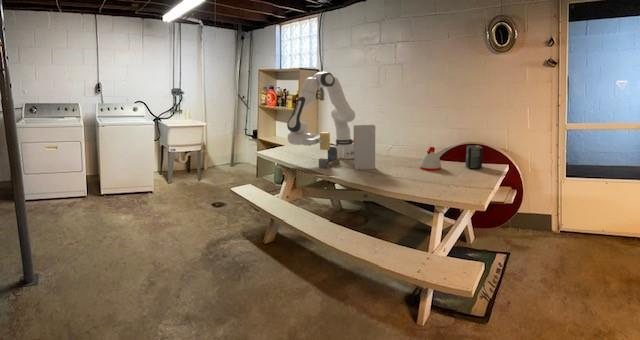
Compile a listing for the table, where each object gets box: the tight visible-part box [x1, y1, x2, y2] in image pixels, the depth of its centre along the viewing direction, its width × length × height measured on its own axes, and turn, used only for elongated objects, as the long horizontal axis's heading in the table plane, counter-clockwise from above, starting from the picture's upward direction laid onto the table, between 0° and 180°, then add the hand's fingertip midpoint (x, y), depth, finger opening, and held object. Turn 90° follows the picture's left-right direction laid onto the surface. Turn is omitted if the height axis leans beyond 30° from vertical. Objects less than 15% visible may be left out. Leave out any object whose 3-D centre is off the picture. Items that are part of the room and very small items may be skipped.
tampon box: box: [465, 144, 484, 170], centre depth 284 cm, size 11×9×15 cm
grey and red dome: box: [419, 146, 442, 172], centre depth 284 cm, size 14×14×15 cm
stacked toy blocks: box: [314, 145, 341, 169], centre depth 299 cm, size 21×10×13 cm, turn 155°
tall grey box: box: [353, 124, 376, 171], centre depth 287 cm, size 14×6×30 cm, turn 92°
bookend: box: [318, 158, 328, 169], centre depth 292 cm, size 3×6×6 cm, turn 65°
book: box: [319, 131, 331, 151], centre depth 296 cm, size 4×6×12 cm, turn 65°
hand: (326, 140), depth 296 cm, fingers closed on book, 4 cm apart
